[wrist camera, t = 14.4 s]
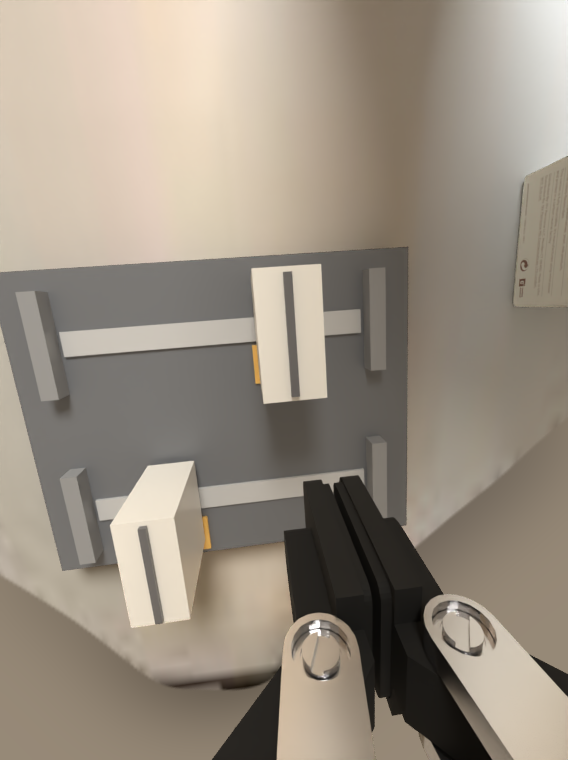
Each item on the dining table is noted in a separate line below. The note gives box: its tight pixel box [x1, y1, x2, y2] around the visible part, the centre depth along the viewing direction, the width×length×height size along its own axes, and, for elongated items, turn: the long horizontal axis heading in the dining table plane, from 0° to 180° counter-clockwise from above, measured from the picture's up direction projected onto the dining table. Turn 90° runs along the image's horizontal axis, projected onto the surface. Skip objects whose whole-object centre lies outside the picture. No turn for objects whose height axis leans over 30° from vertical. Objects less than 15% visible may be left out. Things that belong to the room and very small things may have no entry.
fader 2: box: [251, 264, 327, 404], centre depth 14 cm, size 5×2×5 cm, turn 4°
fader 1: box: [110, 461, 205, 628], centre depth 16 cm, size 5×2×5 cm, turn 4°
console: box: [0, 247, 408, 571], centre depth 19 cm, size 16×20×3 cm
